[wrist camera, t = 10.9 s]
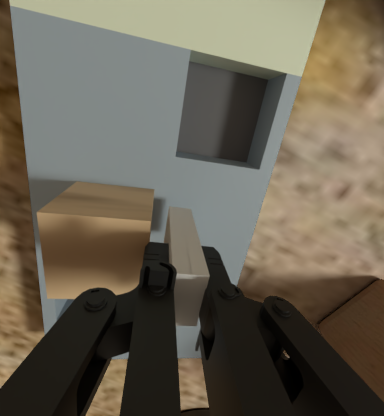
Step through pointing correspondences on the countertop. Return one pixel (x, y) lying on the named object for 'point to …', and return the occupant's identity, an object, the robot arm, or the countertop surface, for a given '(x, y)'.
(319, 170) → the countertop surface
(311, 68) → the countertop surface
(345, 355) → the wooden block
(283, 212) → the countertop surface
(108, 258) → the oak cube
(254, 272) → the countertop surface
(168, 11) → the board
